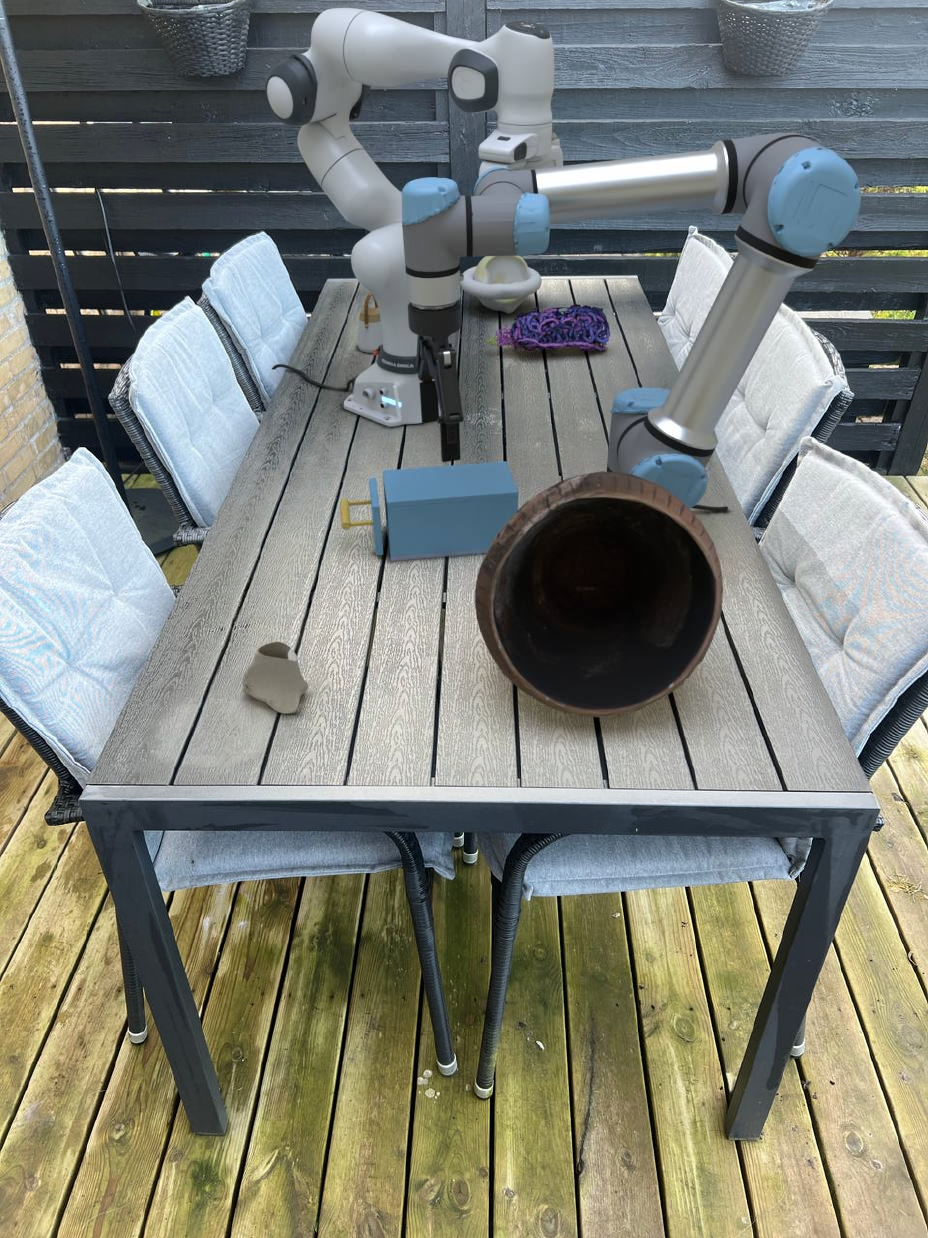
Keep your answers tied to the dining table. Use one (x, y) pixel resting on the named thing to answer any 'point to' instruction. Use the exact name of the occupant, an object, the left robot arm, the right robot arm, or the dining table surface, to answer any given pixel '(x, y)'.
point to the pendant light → (369, 327)
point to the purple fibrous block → (557, 329)
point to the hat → (501, 282)
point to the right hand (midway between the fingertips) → (440, 440)
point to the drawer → (375, 521)
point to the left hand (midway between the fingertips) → (521, 229)
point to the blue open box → (447, 509)
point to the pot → (600, 594)
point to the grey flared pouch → (275, 678)
